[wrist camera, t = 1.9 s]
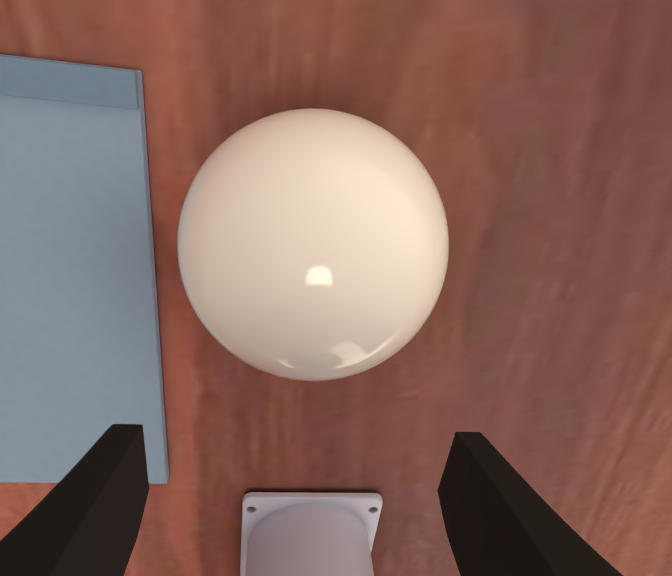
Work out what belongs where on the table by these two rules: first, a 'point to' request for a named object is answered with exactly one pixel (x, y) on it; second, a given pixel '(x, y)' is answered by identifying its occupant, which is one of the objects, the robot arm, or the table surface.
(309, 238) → the lightbulb
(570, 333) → the table surface
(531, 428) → the table surface
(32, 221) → the blue lipped board
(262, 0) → the table surface
